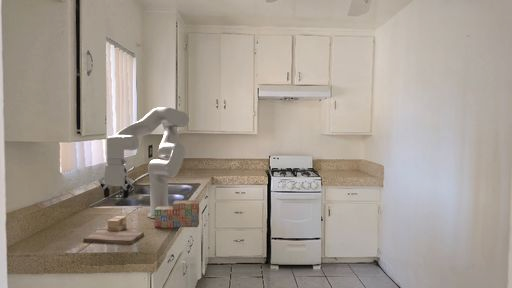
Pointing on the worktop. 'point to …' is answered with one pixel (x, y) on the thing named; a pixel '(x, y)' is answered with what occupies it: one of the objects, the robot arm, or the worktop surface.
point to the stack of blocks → (178, 214)
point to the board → (114, 237)
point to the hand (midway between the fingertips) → (116, 197)
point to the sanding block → (117, 223)
